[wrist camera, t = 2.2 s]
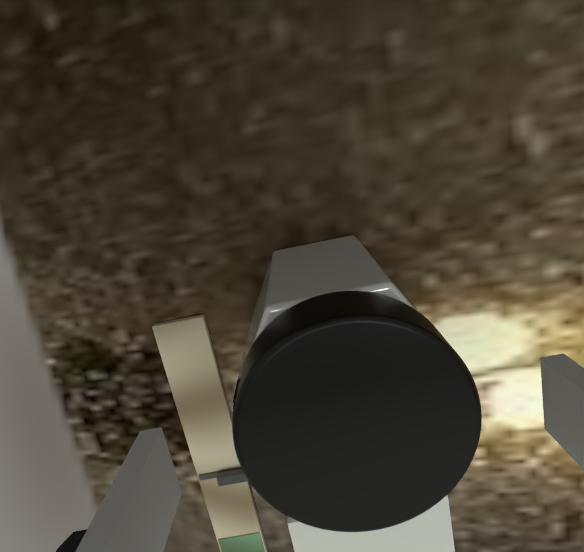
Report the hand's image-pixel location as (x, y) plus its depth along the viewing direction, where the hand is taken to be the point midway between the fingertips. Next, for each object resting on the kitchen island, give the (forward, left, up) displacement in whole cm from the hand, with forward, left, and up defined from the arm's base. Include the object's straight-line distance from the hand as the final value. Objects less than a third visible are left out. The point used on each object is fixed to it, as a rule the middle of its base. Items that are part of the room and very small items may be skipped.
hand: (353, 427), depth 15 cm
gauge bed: (+11, -8, -11) cm, 17 cm away
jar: (0, 0, -11) cm, 11 cm away
